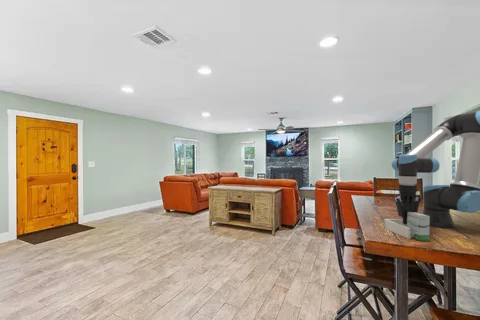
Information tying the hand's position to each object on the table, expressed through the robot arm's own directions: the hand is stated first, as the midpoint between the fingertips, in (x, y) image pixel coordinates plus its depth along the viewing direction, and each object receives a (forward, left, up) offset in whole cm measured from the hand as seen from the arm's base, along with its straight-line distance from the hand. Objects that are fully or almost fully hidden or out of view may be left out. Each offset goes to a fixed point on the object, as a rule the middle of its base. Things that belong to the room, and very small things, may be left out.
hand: (407, 230), depth 118 cm
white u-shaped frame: (0, -2, -2) cm, 3 cm away
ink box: (0, +6, -2) cm, 6 cm away
